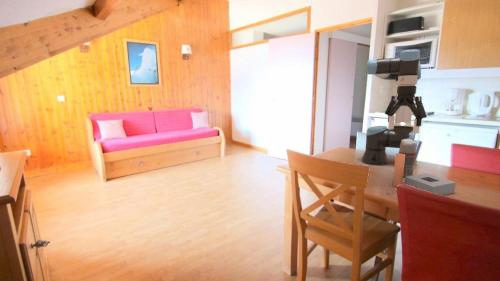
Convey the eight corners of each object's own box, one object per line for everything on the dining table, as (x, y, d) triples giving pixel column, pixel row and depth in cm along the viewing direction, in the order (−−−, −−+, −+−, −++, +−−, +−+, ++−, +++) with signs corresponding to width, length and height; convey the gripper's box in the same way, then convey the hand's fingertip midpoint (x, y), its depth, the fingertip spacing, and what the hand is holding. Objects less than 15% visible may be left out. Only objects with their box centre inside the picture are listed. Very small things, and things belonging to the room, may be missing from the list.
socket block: (404, 186, 126) (405, 176, 125) (425, 182, 130) (426, 173, 129) (431, 197, 113) (433, 186, 112) (454, 192, 117) (455, 182, 116)
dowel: (391, 184, 128) (393, 153, 125) (397, 183, 130) (400, 153, 126) (397, 187, 125) (400, 155, 122) (404, 186, 126) (407, 154, 123)
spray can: (413, 174, 143) (417, 138, 139) (413, 178, 136) (417, 141, 132) (396, 171, 147) (399, 137, 143) (395, 176, 140) (398, 140, 136)
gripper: (379, 86, 128) (376, 128, 132) (426, 85, 105) (421, 136, 109) (390, 85, 130) (387, 127, 134) (440, 84, 107) (434, 134, 111)
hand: (402, 131), depth 122 cm, fingers open, 13 cm apart
